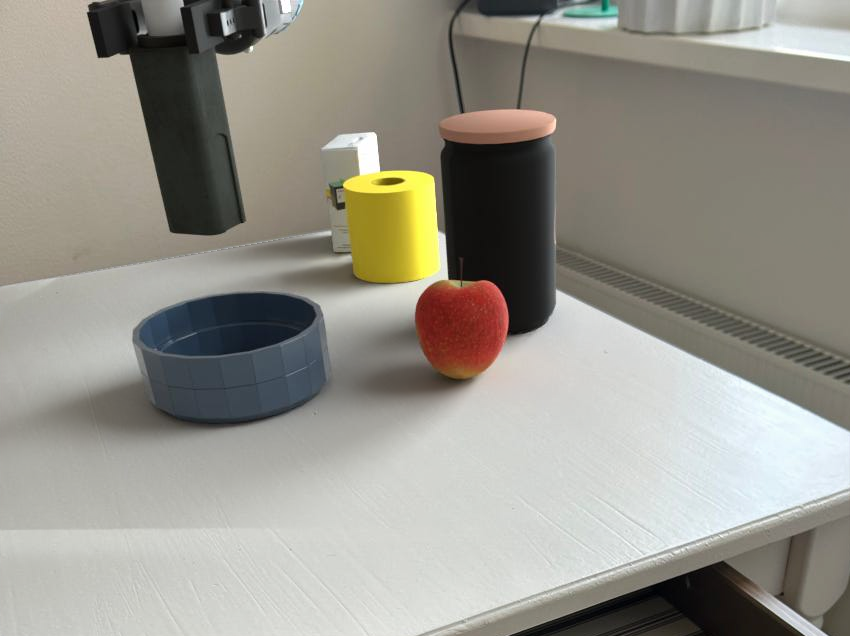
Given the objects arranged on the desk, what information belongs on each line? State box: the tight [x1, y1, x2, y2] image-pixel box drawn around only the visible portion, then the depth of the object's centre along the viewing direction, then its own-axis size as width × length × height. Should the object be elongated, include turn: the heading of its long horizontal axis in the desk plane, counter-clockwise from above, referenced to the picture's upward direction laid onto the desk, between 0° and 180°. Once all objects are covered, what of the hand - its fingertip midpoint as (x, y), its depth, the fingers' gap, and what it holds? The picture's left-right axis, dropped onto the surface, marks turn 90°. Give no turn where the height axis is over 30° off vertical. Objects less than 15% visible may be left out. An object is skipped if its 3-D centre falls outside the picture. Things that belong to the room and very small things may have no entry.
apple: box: [414, 257, 508, 380], centre depth 85 cm, size 8×8×10 cm
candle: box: [128, 0, 247, 237], centre depth 72 cm, size 5×5×25 cm
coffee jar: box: [437, 108, 557, 335], centre depth 94 cm, size 11×11×18 cm
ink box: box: [320, 131, 381, 253], centre depth 119 cm, size 8×5×12 cm, turn 171°
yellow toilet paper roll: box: [343, 170, 441, 284], centre depth 110 cm, size 10×10×9 cm
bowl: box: [131, 290, 333, 424], centre depth 86 cm, size 16×16×6 cm
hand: (143, 33), depth 67 cm, fingers closed on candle, 6 cm apart
